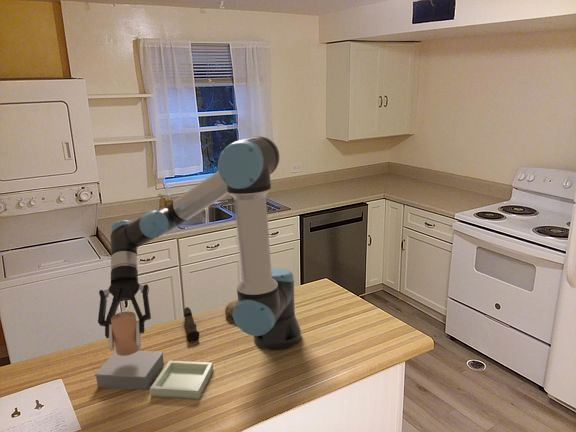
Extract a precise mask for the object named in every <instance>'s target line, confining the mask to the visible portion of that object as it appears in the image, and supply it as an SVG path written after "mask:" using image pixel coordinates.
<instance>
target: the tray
mask: <svg viewBox="0 0 576 432" xmlns="http://www.w3.org/2000/svg"><path fill="white" fill-rule="evenodd" d="M213 372H214V362H207V361H206V362H205V361H204V362H203V361H187V360H186V361H185V360H183V361H182V360H168V362H167V363H166V364H165V366H163V368H162V369H161V372H159V373H160V374H159V375H158V376H157V378H156V379H155V381H154V382H152V383H153V384H152V385H151V387H150V388H149V389H150V396H151V397H152V398H153V397H154V398H171V399H187V400H199V399H200V398H201V396H202V394H203V392H204V390H205V388H206V385H207V384H208V382H209V380H210V379H211V376H212V374H213Z"/></svg>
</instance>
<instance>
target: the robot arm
mask: <svg viewBox="0 0 576 432" xmlns="http://www.w3.org/2000/svg"><path fill="white" fill-rule="evenodd" d="M280 157H281V156H280V152H279V148H278V147H277V145H276V143H274V142H273V141H272V140H271V139H269V138H268V137H266V136H261V135H260V136H252V137H249V138H243V139H238V140H234V141H233V142H232V143H230V144H228V145H226V146H225V148H223V150H222V151H221V152H220V155H219V157H218V162H217V171H216V172H215V173H213V174H211V175H209V176H208V177H206V178H204V180H202V181H201V182H199V183H197V185H195V186H193V187H192V188H190V189H188V191H186V192H184V193H183V194H181V195H180V196H179V197H178V198H176V199H174V200H173V201H171V202H169V203H168V204H167V205H165V206H164V207H161V208H159V209H157V210H155V209H154V210H151V211H149V212H147V213H145V214H143V215H142V216H141V217H138V218H137V219H136V220H134V221H132V220H128V219H127V220H126V219H122V220H121V221H120V220H118V221H116V222H114V223H113V224H112V226H111V230H110V236H109V238H110V285H109V287H108V288H107V289H105V290H103V289H100V290H99V291H98V294H99V297H100V301H99V308H98V309H99V311H98V318H97V323H98V324H99V326H100V327H104V336H105V338H106V339H108V349H109V350H110V351H114V350H115V343H114V337H113V330H112V324H111V317H112V316H114V315H116V314H117V310H118V307H119V305H120V303H121V302H124V301H131V303H132V306H133V308H134V311H135V314H136V317H137V318H138V320H136V344H137V346H138V347H140V348H141V347H142V339H141V338H142V336H141V335H142V334H145V332H146V331H145V322H147V320H148V321H149V320H151V318H152V316H151V309H150V301H149V291H150V287H149V285H148V284H147V283H146V284H143V285H142V284H140V283H139V273H138V248H139V247H142V246H143V245H145V244H147V243H149V242H151V241H153V240H154V239H158V238H159V237H161V236H163V235H164V234H166V233H168V232H170V231H172V230H174V229H176V228H179V227H181V226H182V225H184V223H186V222H187V221H188V220H190V219H191V218H193V217H194V216H196V215H197V214H199V213H201V212H202V211H204V210H206V209H207V208H208V207H210V206H212V205H213V204H215V203H216V202H218V201H219V200H221V199H223V198H224V197H226V196H227V195H230V196H231V197H232V198H233V202H234V212H235V222H236V224H235V225H236V235H237V243H238V244H237V245H238V255H239V256H238V257H239V266H240V267H239V268H240V278H241V280H240V282H239V283H238V284H237V286H236V294H237V295H236V296H237V300H238V303H237V304H236V305H235V307H234V310H233V319H234V324H235V325H236V326H237V328H238V329H240V330H242V332H243V333H244V334H246V335H249V336H253V341H254V343H255V344H256V345H257V346H259V347H260V348H263V349H265V350H274V351H275V350H276V351H278V350H279V351H280V350H285V349H289V348H291V347H294V346H296V345H297V344H298V343H300V341H301V339H302V330H301V327H300V325H299V322H298V319H297V317H296V313H295V311H296V310H295V280H294V274H293V272H292V271H291V270H289V269H286V268H281V267H272V261H271V259H272V258H271V247H270V233H269V220H268V208H267V194H269V192H270V191H271V190H272V185H271V175H272V174H273V173H274V172H275V171H276V170H277V168H278V166H279V163H280ZM139 290H140V293H142V301H143V308H144V314H143V313H142V311H141V308H140V306H139V304H138V302H137V299H136V295H137V293H139ZM109 295H112V296H113V297H112V302H111V304H110V307H109V310H108V313H107V303H108V302H107V301H108V299H107V298H109ZM106 314H107V316H106Z"/></svg>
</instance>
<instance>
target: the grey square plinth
mask: <svg viewBox="0 0 576 432" xmlns="http://www.w3.org/2000/svg"><path fill="white" fill-rule="evenodd" d="M163 354H164V351H156V350H155V351H154V350H152V351H151V350H138V351H137V352H136V353H134V354H131V355H127V356H120V355H118V354H117V353H116V350H115V352H114V353H112V355H110V357H109V358H108V359H107V360H106V361H105V362H104V363H103V364H102V366H101V367H100V368H99V369H98V370H97V371H96V372H95V373H94V376H95V377H96V383H97V384H96V385H97V388H105V389H118V390H119V389H120V390H121V389H122V390H137V391H139V390H140V391H147V390H148V388H149V387H150V385H151V384H152V383H153V381H154V380H155V378H156V377H158V376H157V375H158V374H159V373H160V371H162V369H163V368H164V365H165V364H164V355H163Z"/></svg>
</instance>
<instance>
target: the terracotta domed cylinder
mask: <svg viewBox="0 0 576 432" xmlns="http://www.w3.org/2000/svg"><path fill="white" fill-rule="evenodd" d="M136 317H137V315H136V312H133V311H122V312H118V313H115V315H114V316H112V317H111V324H112V330H113V337H114V350H115V351H116V353H117V354H118V355H120V356H127V355H131V354H134V353H136V352H137V351H140V350H141V346H140V347H138V346H137V344H136V321H137V318H136Z"/></svg>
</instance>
